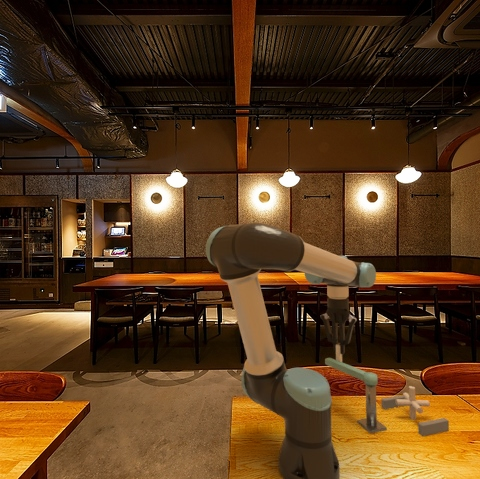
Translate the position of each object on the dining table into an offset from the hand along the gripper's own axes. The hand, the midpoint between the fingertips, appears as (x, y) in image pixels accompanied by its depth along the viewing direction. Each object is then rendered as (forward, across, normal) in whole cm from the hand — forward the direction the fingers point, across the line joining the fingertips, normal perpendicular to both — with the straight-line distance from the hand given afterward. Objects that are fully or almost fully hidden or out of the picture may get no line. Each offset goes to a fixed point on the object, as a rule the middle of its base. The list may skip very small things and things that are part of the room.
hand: (339, 362), depth 109 cm
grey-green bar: (+1, -5, +6) cm, 8 cm away
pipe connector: (+15, -23, -3) cm, 27 cm away
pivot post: (+15, -12, +9) cm, 21 cm away
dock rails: (+15, -23, -3) cm, 27 cm away
